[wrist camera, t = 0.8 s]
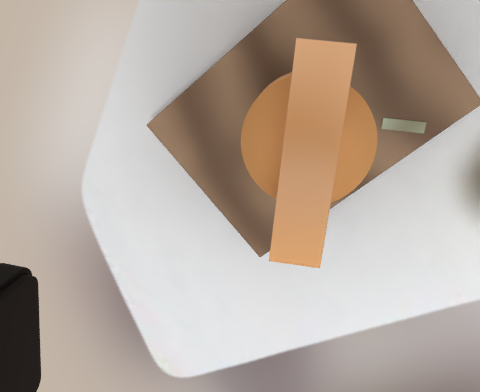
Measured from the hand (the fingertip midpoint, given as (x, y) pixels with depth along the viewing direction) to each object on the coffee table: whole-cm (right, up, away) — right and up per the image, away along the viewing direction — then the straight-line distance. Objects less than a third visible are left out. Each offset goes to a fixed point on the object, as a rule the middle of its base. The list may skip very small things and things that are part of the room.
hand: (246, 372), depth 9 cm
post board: (+5, +10, +26) cm, 28 cm away
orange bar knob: (+4, +7, +18) cm, 20 cm away
